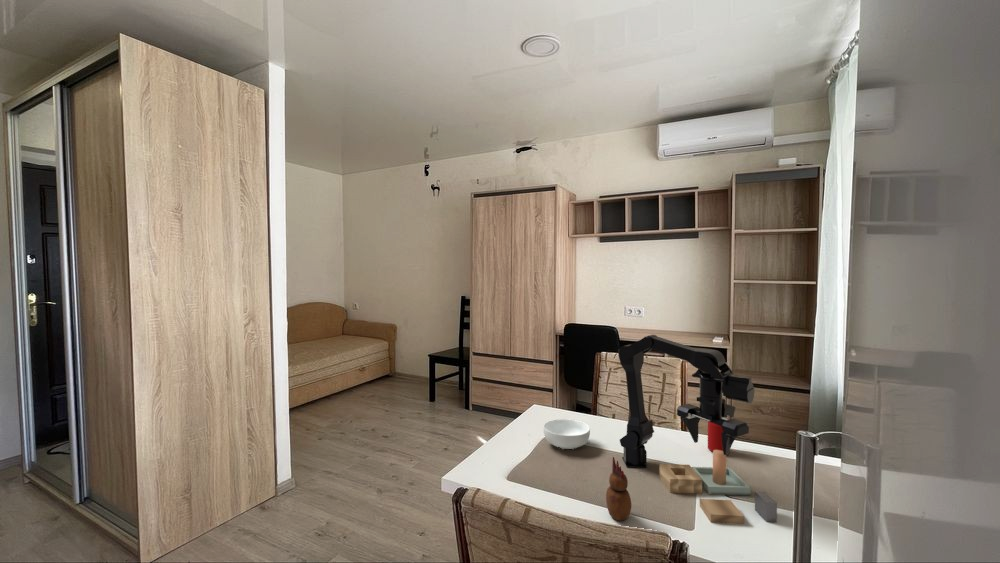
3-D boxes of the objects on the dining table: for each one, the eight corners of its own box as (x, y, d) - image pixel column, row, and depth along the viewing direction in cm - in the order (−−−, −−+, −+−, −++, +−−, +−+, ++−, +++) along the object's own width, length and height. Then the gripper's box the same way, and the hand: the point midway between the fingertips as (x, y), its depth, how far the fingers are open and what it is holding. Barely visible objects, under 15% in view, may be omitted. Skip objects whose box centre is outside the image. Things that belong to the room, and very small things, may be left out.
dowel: (725, 486, 117) (725, 456, 117) (712, 482, 119) (712, 453, 119) (726, 481, 120) (726, 451, 120) (713, 477, 122) (713, 448, 122)
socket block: (670, 492, 115) (670, 479, 115) (659, 476, 124) (659, 464, 124) (702, 493, 115) (702, 479, 115) (689, 477, 124) (689, 464, 124)
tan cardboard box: (710, 523, 102) (710, 514, 102) (699, 507, 109) (699, 498, 109) (743, 525, 101) (743, 516, 101) (730, 509, 108) (730, 500, 108)
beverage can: (732, 456, 137) (732, 422, 137) (711, 455, 139) (711, 421, 138) (725, 448, 144) (725, 415, 143) (705, 446, 145) (705, 414, 145)
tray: (708, 494, 114) (708, 486, 114) (691, 473, 126) (691, 466, 126) (750, 495, 114) (750, 487, 114) (729, 474, 125) (729, 467, 125)
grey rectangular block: (766, 521, 102) (766, 502, 102) (754, 510, 107) (755, 491, 107) (776, 522, 101) (776, 502, 101) (764, 510, 106) (765, 491, 106)
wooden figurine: (603, 509, 108) (603, 454, 107) (623, 508, 108) (623, 453, 108) (612, 525, 101) (612, 466, 100) (634, 523, 101) (634, 465, 101)
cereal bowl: (596, 442, 150) (596, 423, 150) (580, 460, 136) (580, 439, 136) (554, 432, 159) (554, 415, 159) (535, 448, 145) (535, 429, 145)
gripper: (761, 399, 110) (760, 455, 110) (699, 382, 126) (699, 431, 127) (736, 406, 105) (735, 464, 105) (675, 387, 121) (675, 438, 122)
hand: (710, 448), depth 115 cm, fingers open, 9 cm apart
